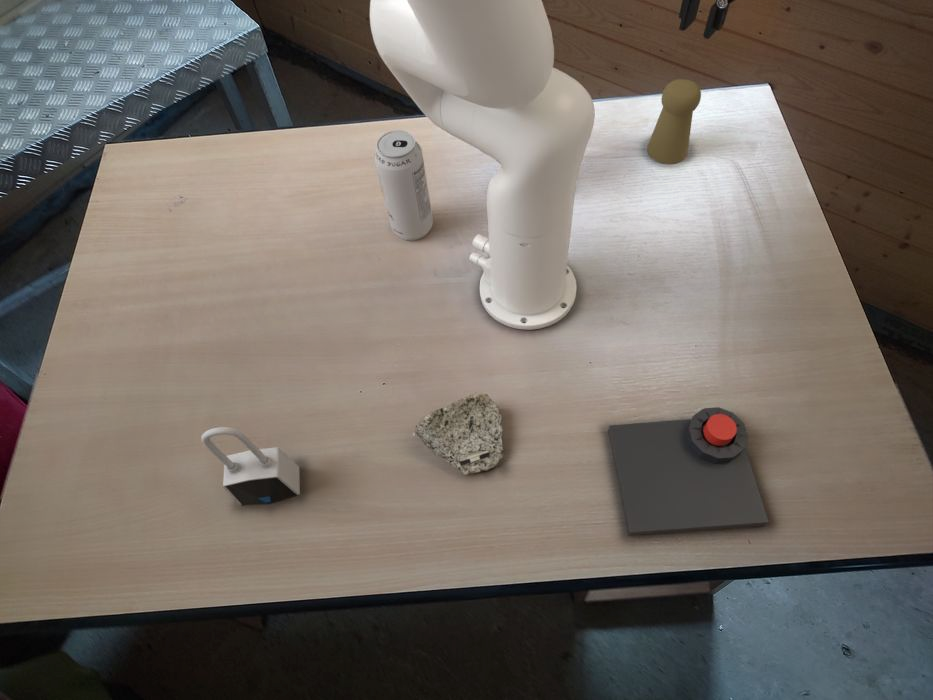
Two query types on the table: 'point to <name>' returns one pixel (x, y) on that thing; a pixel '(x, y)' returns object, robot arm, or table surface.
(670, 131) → the pawn game piece
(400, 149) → the energy drink can
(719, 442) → the tare button
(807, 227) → the table surface
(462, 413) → the rock sample
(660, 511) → the grey flat block
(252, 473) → the padlock
